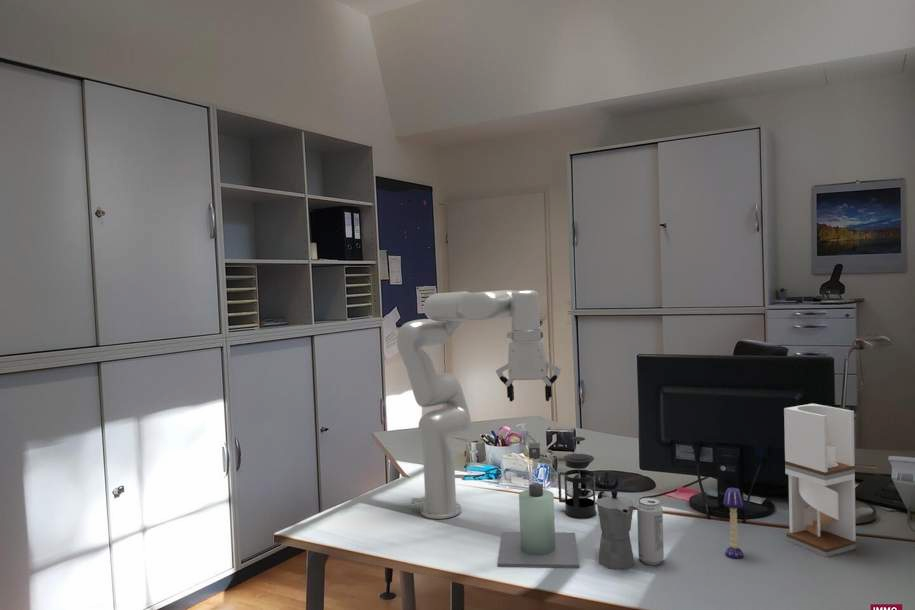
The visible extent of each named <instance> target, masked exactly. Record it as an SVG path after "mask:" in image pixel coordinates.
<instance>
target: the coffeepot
mask: <svg viewBox="0 0 915 610" xmlns="http://www.w3.org/2000/svg"><path fill="white" fill-rule="evenodd" d="M610 492H611V496H610V494H609V493H608V492H605V490H604V491H603V490H601V491H599V493H598V494H597V499H595V502H596V506H597V512H598V519H599V524H600V530H601V536H600V541H599V547H598V548H599V549H598V554H597V555H598V556H597V557H598V563H599V564H600V565H601V566H602V567H605V568H607V569H611V570H612V569H613V570H625V569H626V570H627V569H629V568H630V569H631V567H633V566H635V564H636V563H635V558H634V554H633V547H632V543H631V542H632V541H631V538H630V537H631V536H630V531H631V529H632V528H631V527H632V520H633V512H634V503H633V500H632V499H629V498H626V497H623V496H618V490H615V489H613V490H611V491H610Z"/></svg>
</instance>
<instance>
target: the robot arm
mask: <svg viewBox="0 0 915 610" xmlns="http://www.w3.org/2000/svg"><path fill="white" fill-rule="evenodd" d="M539 297H540V296H539V293H538V291H536V290H533V289H524V290H523V289H522V290H514V289H513V290H511V289H504V290H501V289H500V290H489V291H488V290H487V291H479V292H477V291H476V292H469V291H467V290H465V291H456V292H455V291H453V292H439V293H433V294H431V295H429V296H428V297H427V298H426V299H425V301H424V302H423V307H422V308H423V312H424V314H425V316H426V317H427V318H422V319H415V320H411V321H407V322H405V323H403V324H402V325H401V327H399V329H398V331H397V334H396V346H397V347H396V348H397V351H398V354H399V355H400V358H401V360H402V362H403V364H404V366H405V370H406V372H407V375H408V376H407V377H408V380H409V383H410V386H411V390H412V393H413V396H414V400H415V402H416V403H417V405H418V406H419V407H421V408H431V407H436V406H440V405H442V408H440V409H434V410H431V411H428V412H426V413H424V414H423V415H422V416H421V417H420V419H419V421H418V431H419V432H418V433H419V437H420V441H421V447H422V458H423V459H422V460H423V463H422V464H423V479H424V481H423V482H424V484H423V485H424V496H422V497H421V498H419V497H411V504H412V505H413V506H414V507H421V508H420V514H421V515H422V516H423V517H425V518H428V519H433V520H434V519H435V520H437V519H438V520H442V519H450V518H454V517H456V516H458V515H459V514H461V512H462V505H460V504H459V503H457V493H456V492H457V491H456V490H457V489H456V470H455V469H456V467H455V454H454V451H453V449H452V446H451V445H450V443H449V440H450V439H454V438H456V437H460V436H464V435H466V434H467V433H468V432H469V430H470V428H471V423H472V419H471V414H470V411H469V407H468V404H467V401H466V398H465V395H464V392H463V388H462V385H461V383H460V381H459V380H458V378H457V377H456V376H455V375H453V374H451V373H448V372H445V373H437V372H436V369H435V366H434V362H433V360H432V358H431V357H430V355H429V354H428V353H427V352H426V351H425V350H424V349H423V347H430V346H437V345H442V344H446V342H447V343H448V341H449V340H451V339H452V337H453V336H454V334H455V333H456V331H457V330H458V328H459V327H460V325H462V323H463V321H464V322H466V321H467V322H469V321H483V320H484V321H486V320H487V321H488V320H495V319H506V318H510V320H511V331H510V332H507V333H506V338H507V339H508V338H509V339H511V341H510V342H509V344H508V352H507V353H508V356H507V358H508V359H507V363H506V364H505V365H503V366H501V367H499V368H498V369H496V370H495V373H496V375H497V377H498V378H499V380H500V381H501V382H502V383H503V384H504V385H505V387H506V394H507V396H506V397H507V399H509V402H513V401H514V400H515V391H514V385H513V382H514V381H533V380H534V381H535V380H536V381H537V380H542V381H543V382H544V383H545V386H544V392H545V393H544V394H545V395H544V396H545V401H546V402H549V400H550V399H551V398H553V397H552V396H553V395H552V393H553V392H552V385H553V384H554V382H556V381H557V379H558V377H559V375H560V373H561V372H562V368H561V367H559V366H557V365H554V364H552V363H551V362H548V359H547V353H546V348H545V343H544V340H542V337H541V320H540V318H541V316H540V298H539ZM548 369H549V370H551V371H553V375H552V377H549V376H548ZM504 371H507V373H508V378H507V377H506V376H505V375H504Z"/></svg>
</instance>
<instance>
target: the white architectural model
mask: <svg viewBox="0 0 915 610" xmlns="http://www.w3.org/2000/svg"><path fill="white" fill-rule="evenodd" d="M783 416H784V422H783V423H784V426H783V427H784V467H785V469H784V470H785V471H784V473H785V475H787V476H788V509H789V510H788V511H789V512H788V513H789V514H788V515H789V517H788V518H789V520H788V521H789V522H788V523H789V532H786V535H785V536H786V541H787V542H789V543H791V544H793V545H796V546H798V547H800V548H804V549H805V550H808V551H810V552H812V553H815V554H818V555H819V556H822V557H824V558H829V557H832V556H835V555H838V554H842V553H845V552H849V551H852V550H855V549H857V548H856V546H857V545H856V543H857V542H856V539H857V537H856V480H855V478H856V474H855V473H856V472H855V469H856V468H855V467H856V466H855V461H856V460H855V417H854V416H855V411H854V410H850V409H844V408H840V407H835V406H834V407H833V406H830V405H824V404H823V405H822V404H817V403H808V404H803V405H796V406H789V407H784V408H783Z"/></svg>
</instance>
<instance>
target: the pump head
mask: <svg viewBox="0 0 915 610" xmlns="http://www.w3.org/2000/svg"><path fill="white" fill-rule="evenodd" d="M528 459H530V460H531V459H532V469H534V470H537V469H538V459H541V443H540V442H534V443H533V442H529V443H528Z"/></svg>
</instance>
